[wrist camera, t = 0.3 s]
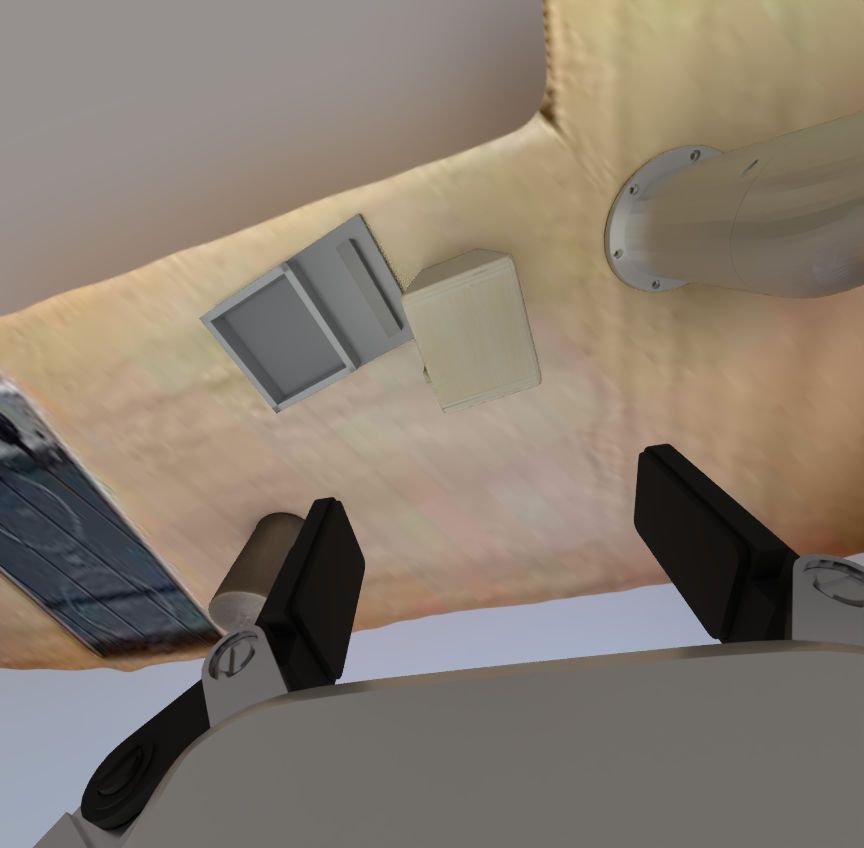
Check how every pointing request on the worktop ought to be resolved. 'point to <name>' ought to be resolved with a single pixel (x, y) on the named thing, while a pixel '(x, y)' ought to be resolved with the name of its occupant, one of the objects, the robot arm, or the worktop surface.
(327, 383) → the tray
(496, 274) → the beige tall block
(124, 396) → the worktop surface
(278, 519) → the pillar candle
